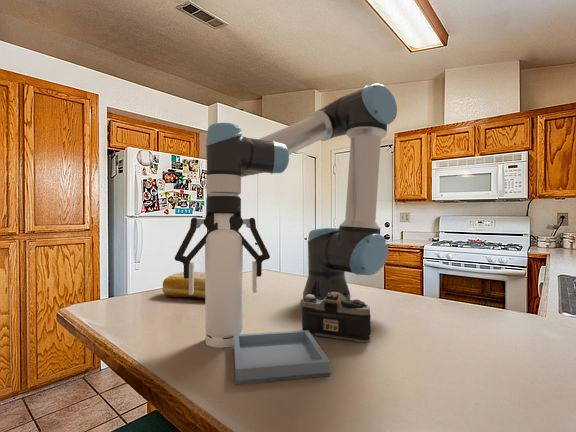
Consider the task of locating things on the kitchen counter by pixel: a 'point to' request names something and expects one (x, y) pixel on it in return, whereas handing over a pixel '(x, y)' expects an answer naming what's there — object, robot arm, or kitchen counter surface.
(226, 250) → the bottle
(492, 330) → the kitchen counter surface
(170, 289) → the bread
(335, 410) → the kitchen counter surface
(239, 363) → the tray
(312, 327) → the camera
